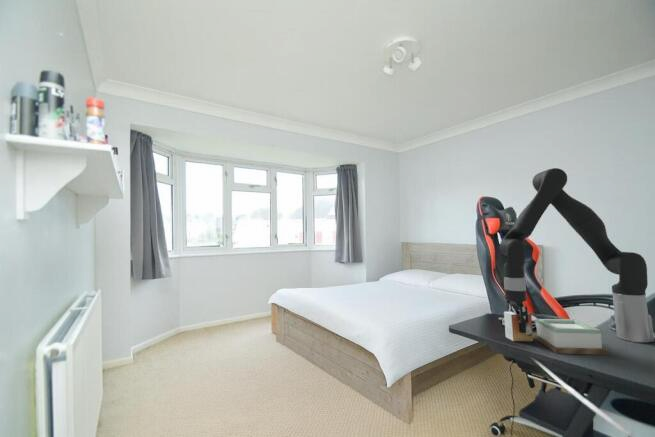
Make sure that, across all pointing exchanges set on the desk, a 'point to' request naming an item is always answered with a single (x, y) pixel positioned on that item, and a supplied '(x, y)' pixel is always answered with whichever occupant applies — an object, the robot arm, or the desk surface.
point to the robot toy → (532, 321)
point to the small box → (517, 328)
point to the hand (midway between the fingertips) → (518, 329)
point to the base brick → (568, 333)
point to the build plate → (571, 350)
